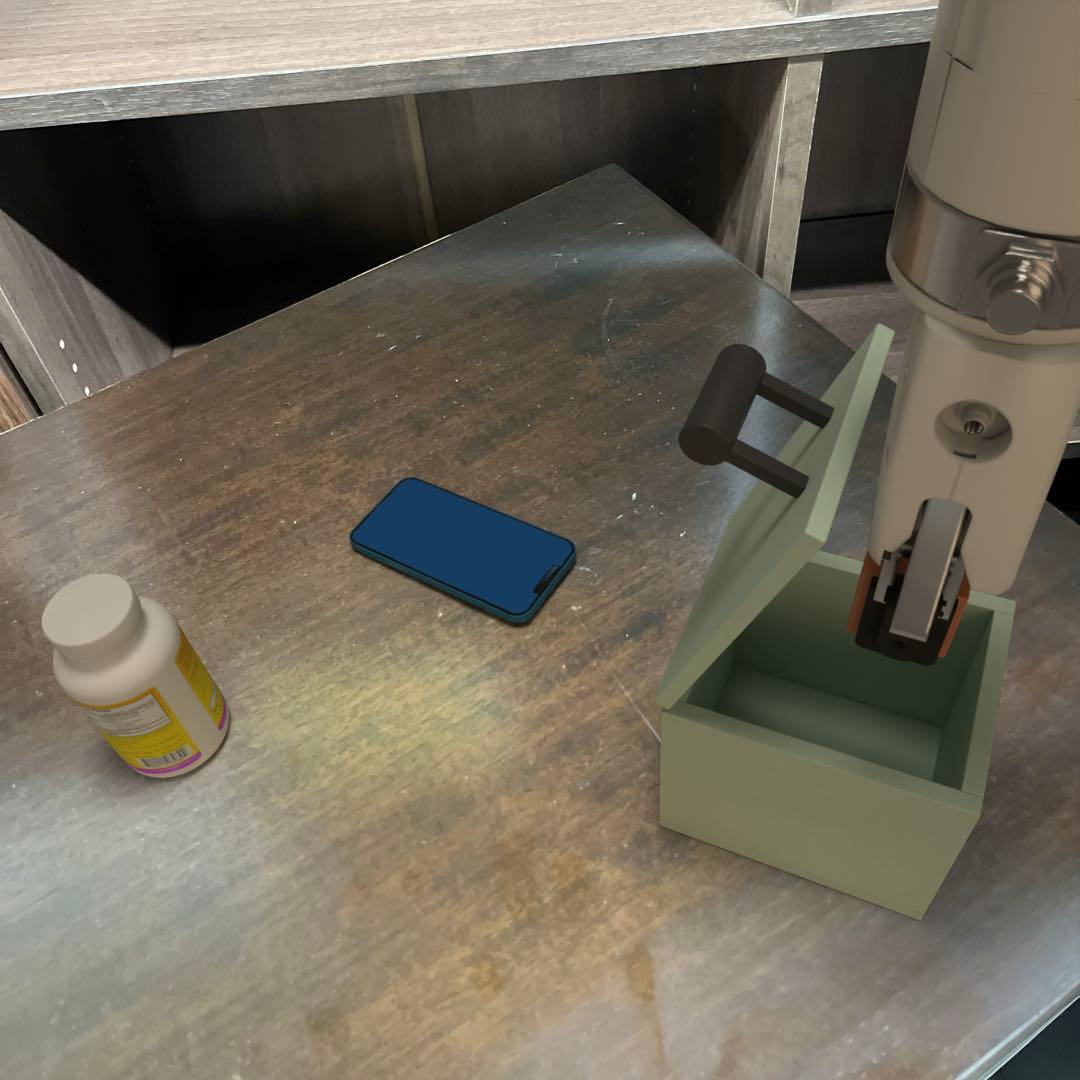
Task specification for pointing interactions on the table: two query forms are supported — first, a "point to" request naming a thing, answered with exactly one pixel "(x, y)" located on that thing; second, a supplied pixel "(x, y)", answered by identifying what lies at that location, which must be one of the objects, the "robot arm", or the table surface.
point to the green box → (838, 744)
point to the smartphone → (465, 548)
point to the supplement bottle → (134, 675)
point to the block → (874, 570)
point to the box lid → (768, 491)
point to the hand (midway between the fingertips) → (906, 604)
